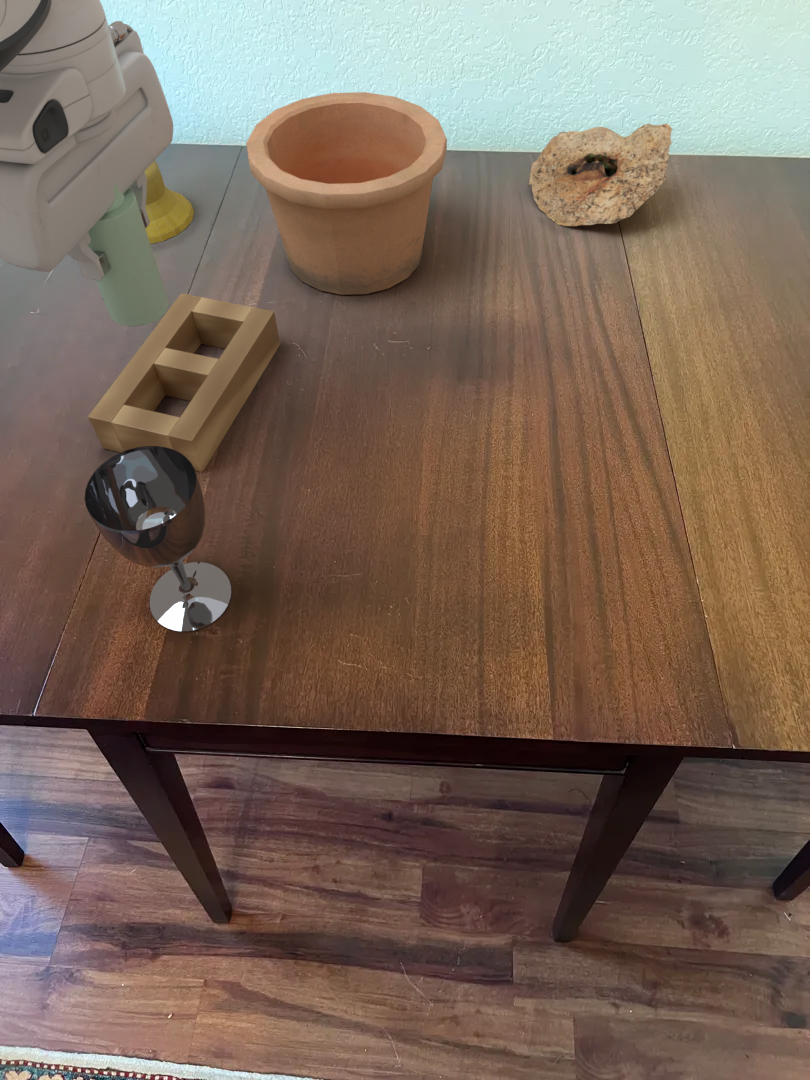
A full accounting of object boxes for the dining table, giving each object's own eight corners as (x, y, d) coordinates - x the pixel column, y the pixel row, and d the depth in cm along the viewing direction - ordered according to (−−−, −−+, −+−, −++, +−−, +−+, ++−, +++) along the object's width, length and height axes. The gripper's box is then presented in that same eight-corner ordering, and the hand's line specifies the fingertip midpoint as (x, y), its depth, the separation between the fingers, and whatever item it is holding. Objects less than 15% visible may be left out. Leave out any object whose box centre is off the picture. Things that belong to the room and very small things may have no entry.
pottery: (246, 302, 92) (221, 186, 80) (291, 198, 104) (275, 85, 93) (429, 318, 89) (430, 202, 78) (452, 211, 102) (456, 96, 90)
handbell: (196, 238, 99) (139, 16, 79) (97, 251, 98) (14, 29, 78) (191, 186, 106) (138, -29, 86) (99, 197, 105) (23, -18, 85)
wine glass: (190, 544, 71) (142, 430, 59) (255, 586, 69) (219, 475, 56) (125, 605, 68) (60, 497, 55) (191, 652, 65) (138, 549, 53)
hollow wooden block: (102, 448, 78) (87, 416, 75) (190, 325, 89) (181, 292, 86) (202, 472, 76) (192, 441, 73) (280, 344, 87) (274, 311, 84)
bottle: (98, 320, 68) (28, 153, 56) (127, 284, 71) (67, 118, 59) (151, 331, 67) (91, 163, 55) (179, 294, 70) (128, 127, 58)
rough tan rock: (533, 262, 106) (515, 220, 100) (549, 182, 111) (534, 137, 105) (671, 241, 97) (661, 194, 91) (682, 155, 102) (673, 105, 96)
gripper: (92, 6, 59) (144, 179, 71) (-80, 139, 48) (15, 320, 59) (166, 15, 58) (208, 190, 69) (7, 153, 47) (87, 336, 58)
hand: (118, 251), depth 64 cm, fingers closed on bottle, 5 cm apart
